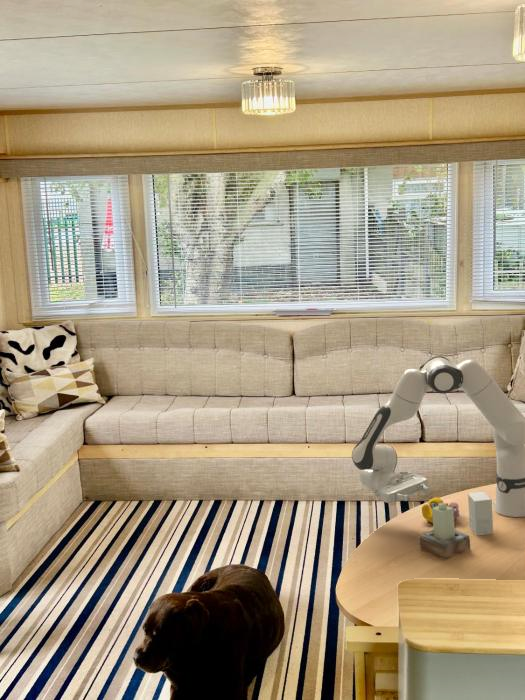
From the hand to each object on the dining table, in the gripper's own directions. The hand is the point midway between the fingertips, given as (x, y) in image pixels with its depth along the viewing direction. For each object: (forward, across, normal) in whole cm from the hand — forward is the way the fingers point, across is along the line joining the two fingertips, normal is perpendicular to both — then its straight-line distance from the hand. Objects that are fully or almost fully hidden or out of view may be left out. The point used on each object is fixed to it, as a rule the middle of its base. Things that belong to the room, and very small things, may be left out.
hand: (417, 494), depth 274 cm
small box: (+12, +18, +16) cm, 27 cm away
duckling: (-4, +11, +16) cm, 20 cm away
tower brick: (+14, -2, +12) cm, 18 cm away
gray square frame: (+14, -2, +16) cm, 21 cm away
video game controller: (-3, +18, +16) cm, 25 cm away
